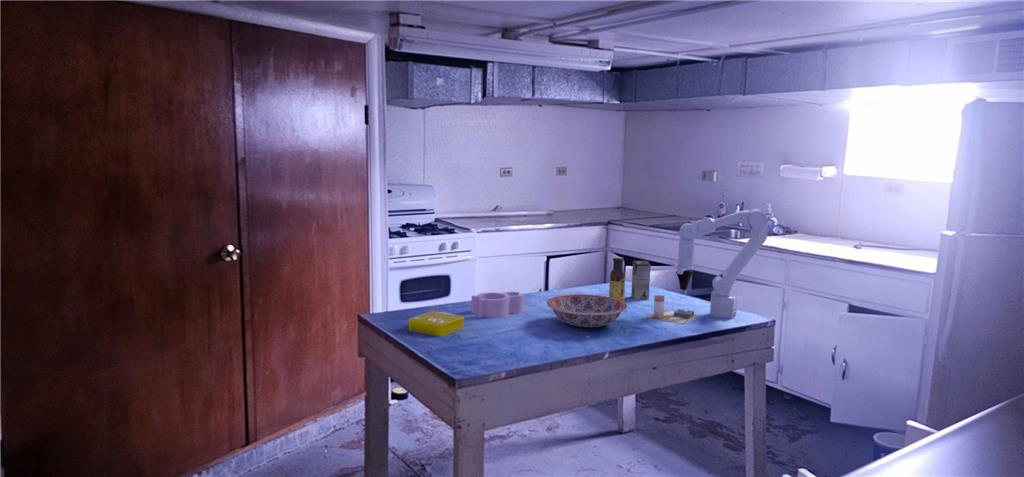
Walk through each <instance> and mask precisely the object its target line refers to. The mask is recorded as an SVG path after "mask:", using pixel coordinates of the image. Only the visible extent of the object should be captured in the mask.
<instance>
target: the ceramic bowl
mask: <svg viewBox="0 0 1024 477" xmlns="http://www.w3.org/2000/svg"><path fill="white" fill-rule="evenodd" d="M546 305H547V307H549V308H550V309H552V311H553V313H554V315H555V316H556V317H557V318H558V319H559V320H561V321H562V322H564V323H566V324H568V325H571V326H573V327H575V326H576V327H581V328H600V327H603V326H607V325H609V324H611V323H613V322H614V321H615V320H616V319H618V318H619V316H620V315H621V313H622V312H624V311H626V310H627V309H628V304H627V303H626V302H625V301H624V302H623V301H621V300H618V299H615V298H611V297H609V296H605V295H598V294H583V293H582V294H581V293H579V294H577V293H575V294H574V293H573V294H564V295H557V296H553V297H551V298H549V299H547V301H546Z"/></svg>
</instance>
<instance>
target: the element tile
mask: <svg viewBox="0 0 1024 477" xmlns="http://www.w3.org/2000/svg"><path fill="white" fill-rule="evenodd" d="M463 328H465V317H464V315H461V314H460V315H459V314H453V313H450V312H444V311H437V310H431V311H427V312H425V313H422V314H419V315H416V316H413V317H410V318H409V319H408V331H411V332H415V333H419V334H426V335H430V336H435V337H444V336H446V335H449V334H451V333H454V332H457V331H460V330H461V329H463Z"/></svg>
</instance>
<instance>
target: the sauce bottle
mask: <svg viewBox="0 0 1024 477" xmlns="http://www.w3.org/2000/svg"><path fill="white" fill-rule="evenodd" d="M612 262H613V265H612V267H613V269H612V270H611V271H610V275H609V292H608V293H609V294H608V295H609V296H608V297H611V298H615V299H618V300H621V301H623V302H625V295H626V294H625V293H626V292H625V291H626V275H625V271H624V267H623V264H624V263H623V262H624V257H622V256H614V257H612Z"/></svg>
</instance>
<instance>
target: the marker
mask: <svg viewBox="0 0 1024 477" xmlns="http://www.w3.org/2000/svg"><path fill="white" fill-rule="evenodd" d="M653 303H654V306H653V309H654V310H653V313H654V318H664V310H665V296H664V295H662V294H661V295H659V294H657V295H654V302H653Z"/></svg>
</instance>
